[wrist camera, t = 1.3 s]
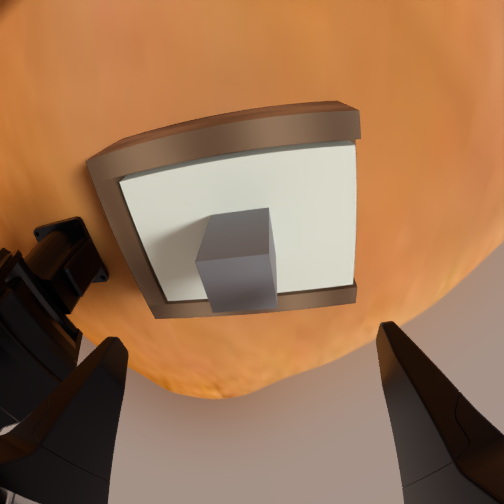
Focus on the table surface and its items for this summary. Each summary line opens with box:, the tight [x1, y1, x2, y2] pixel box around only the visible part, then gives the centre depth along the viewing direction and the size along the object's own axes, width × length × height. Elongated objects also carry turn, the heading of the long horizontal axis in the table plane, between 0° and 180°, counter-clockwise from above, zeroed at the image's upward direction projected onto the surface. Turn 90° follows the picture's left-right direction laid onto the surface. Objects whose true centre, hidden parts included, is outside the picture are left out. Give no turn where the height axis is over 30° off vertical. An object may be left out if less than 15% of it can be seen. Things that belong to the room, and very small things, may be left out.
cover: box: [119, 140, 356, 313], centre depth 14 cm, size 12×9×5 cm
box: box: [86, 101, 361, 319], centre depth 17 cm, size 14×12×4 cm
